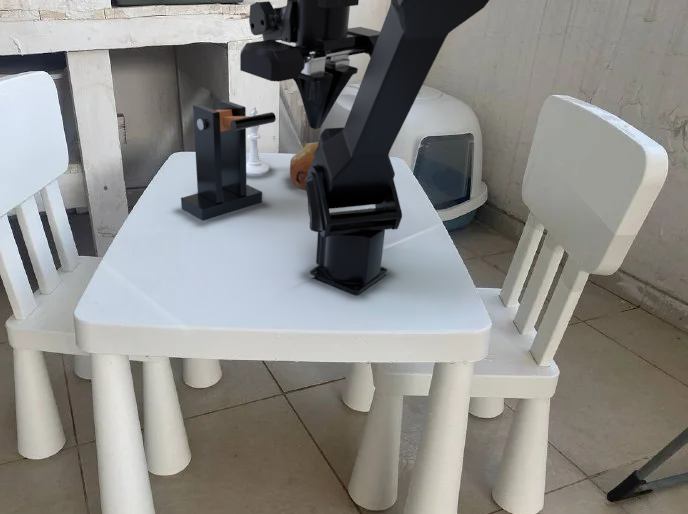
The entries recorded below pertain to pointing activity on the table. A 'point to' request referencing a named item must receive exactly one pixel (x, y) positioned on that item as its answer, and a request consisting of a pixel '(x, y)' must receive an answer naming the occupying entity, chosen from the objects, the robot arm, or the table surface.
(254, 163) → the chess piece
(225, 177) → the stand
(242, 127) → the brown black t-shaped piece
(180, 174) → the table surface
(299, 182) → the bread roll
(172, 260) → the table surface
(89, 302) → the table surface
